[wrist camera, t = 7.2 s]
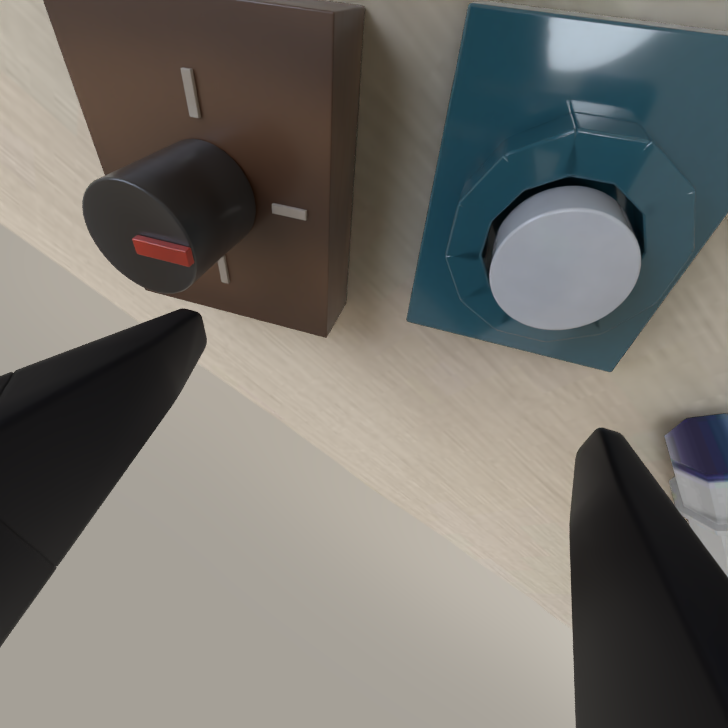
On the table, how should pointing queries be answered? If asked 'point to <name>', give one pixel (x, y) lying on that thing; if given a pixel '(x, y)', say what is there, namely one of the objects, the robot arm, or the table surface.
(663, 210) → the teal button mount
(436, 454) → the table surface
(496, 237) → the flush button
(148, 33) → the dial panel
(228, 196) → the supply dial
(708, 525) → the white ridged-cap long part
